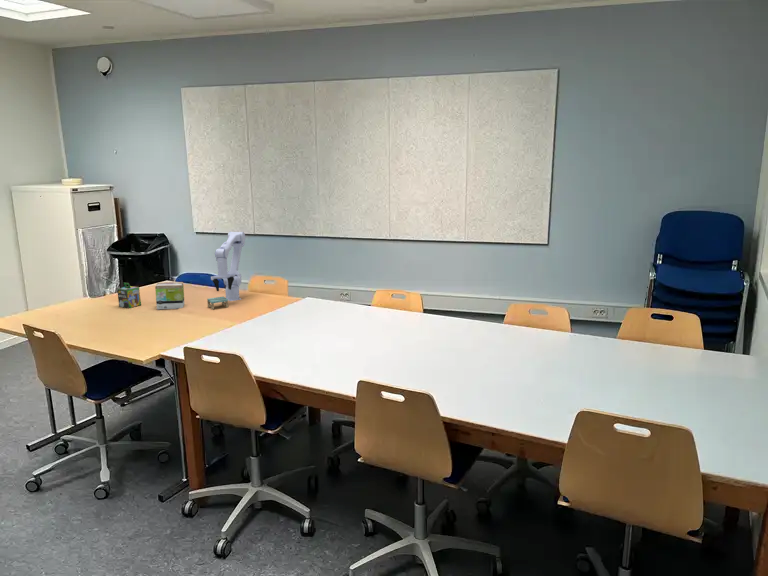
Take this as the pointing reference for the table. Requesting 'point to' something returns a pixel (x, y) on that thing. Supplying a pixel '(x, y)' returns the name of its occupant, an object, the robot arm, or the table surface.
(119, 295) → the chalk box
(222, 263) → the robot arm
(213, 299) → the footstool
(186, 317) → the table surface
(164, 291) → the tea box
